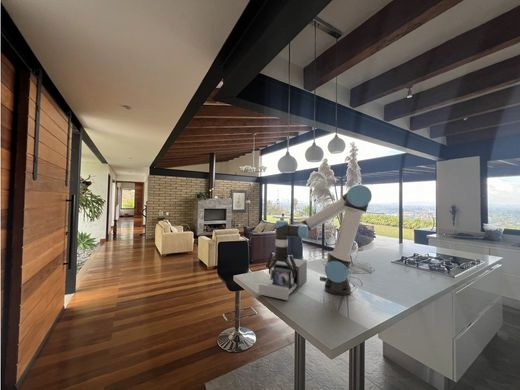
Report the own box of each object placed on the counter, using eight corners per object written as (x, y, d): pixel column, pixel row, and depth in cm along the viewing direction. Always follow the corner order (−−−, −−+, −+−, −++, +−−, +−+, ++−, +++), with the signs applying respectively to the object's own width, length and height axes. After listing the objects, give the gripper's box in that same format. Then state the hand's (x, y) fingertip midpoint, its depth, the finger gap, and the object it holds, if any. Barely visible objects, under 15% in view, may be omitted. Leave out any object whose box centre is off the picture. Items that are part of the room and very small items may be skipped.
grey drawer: (298, 286, 136) (298, 278, 136) (286, 300, 117) (286, 289, 117) (273, 282, 143) (273, 273, 144) (258, 294, 125) (259, 284, 125)
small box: (272, 287, 132) (272, 270, 133) (276, 284, 138) (276, 267, 138) (288, 290, 128) (288, 272, 128) (292, 287, 134) (292, 269, 134)
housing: (306, 280, 151) (306, 260, 152) (298, 289, 135) (298, 266, 136) (283, 276, 159) (283, 257, 160) (273, 284, 143) (273, 263, 144)
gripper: (303, 246, 132) (303, 282, 131) (266, 243, 143) (265, 276, 142) (299, 249, 125) (299, 287, 124) (260, 245, 136) (260, 279, 135)
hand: (281, 281), depth 133 cm, fingers open, 13 cm apart
